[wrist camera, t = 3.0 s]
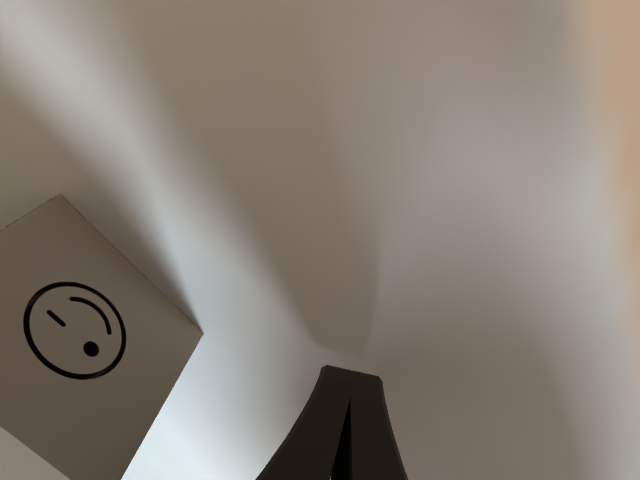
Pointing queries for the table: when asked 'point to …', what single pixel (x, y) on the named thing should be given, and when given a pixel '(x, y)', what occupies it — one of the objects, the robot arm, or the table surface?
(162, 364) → the dice cube
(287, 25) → the table surface
